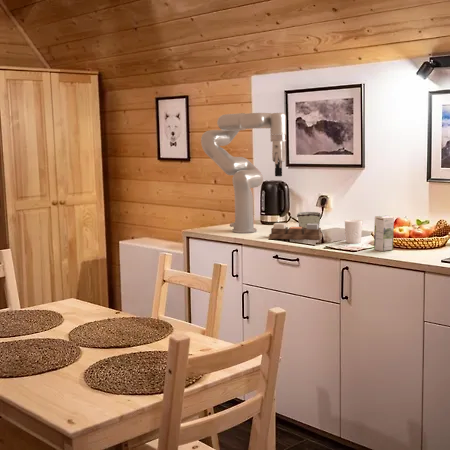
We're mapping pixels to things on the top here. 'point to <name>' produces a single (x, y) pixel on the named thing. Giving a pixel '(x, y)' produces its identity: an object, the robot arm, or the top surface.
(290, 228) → the terracotta key
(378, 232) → the syrup box
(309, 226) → the slate key
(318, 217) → the food container
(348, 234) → the white cup
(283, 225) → the cream key
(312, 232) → the key console
